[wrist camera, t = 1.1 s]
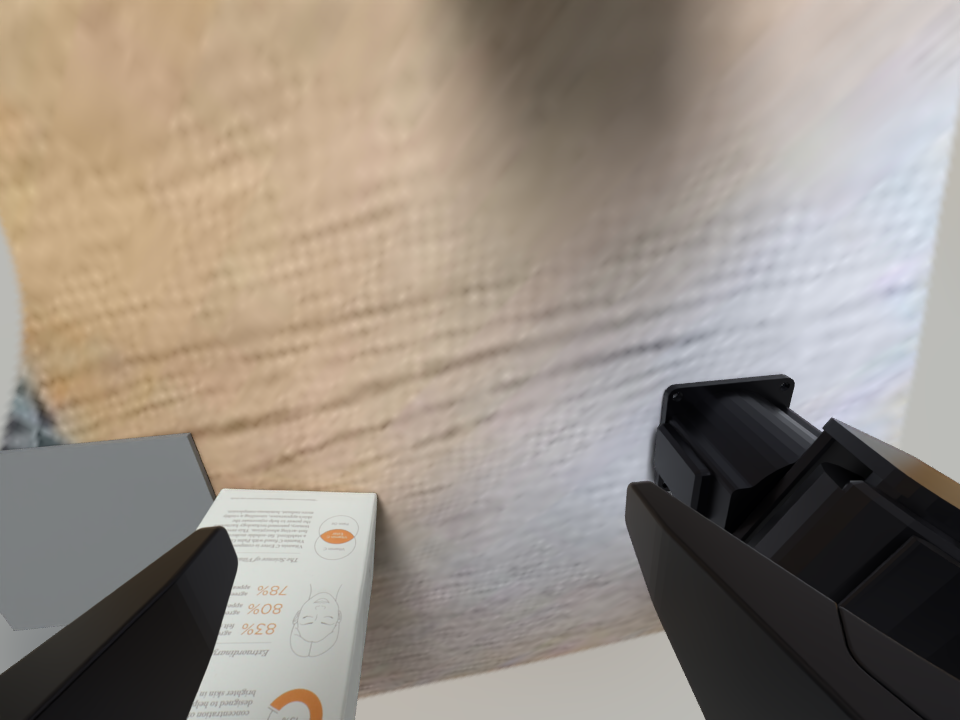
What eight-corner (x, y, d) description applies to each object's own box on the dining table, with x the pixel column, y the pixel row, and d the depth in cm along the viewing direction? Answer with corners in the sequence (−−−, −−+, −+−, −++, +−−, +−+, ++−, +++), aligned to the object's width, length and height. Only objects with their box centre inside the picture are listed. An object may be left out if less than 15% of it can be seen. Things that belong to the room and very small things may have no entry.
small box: (231, 573, 26) (59, 929, 14) (220, 484, 23) (1, 823, 11) (376, 575, 27) (333, 904, 15) (380, 490, 24) (333, 802, 12)
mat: (190, 432, 22) (186, 436, 22) (256, 600, 27) (254, 605, 27) (-104, 460, 22) (-111, 464, 21) (18, 626, 27) (13, 630, 26)
